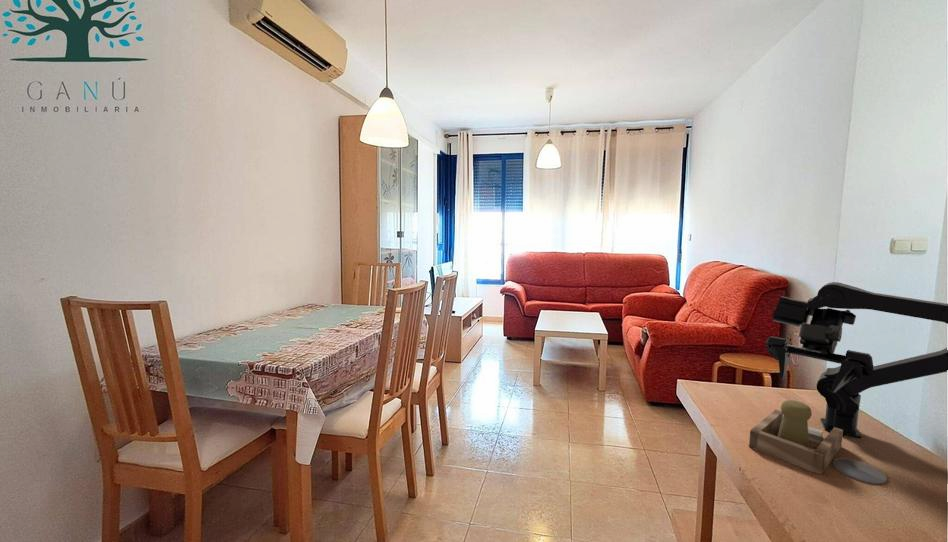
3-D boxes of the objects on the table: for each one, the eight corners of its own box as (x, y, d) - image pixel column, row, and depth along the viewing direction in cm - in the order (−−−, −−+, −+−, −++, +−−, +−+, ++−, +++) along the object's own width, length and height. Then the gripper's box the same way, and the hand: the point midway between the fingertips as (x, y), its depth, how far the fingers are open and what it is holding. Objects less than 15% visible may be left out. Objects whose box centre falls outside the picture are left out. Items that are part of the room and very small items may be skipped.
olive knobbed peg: (772, 449, 86) (776, 402, 85) (778, 439, 90) (782, 394, 89) (807, 461, 82) (812, 411, 80) (812, 450, 86) (816, 403, 84)
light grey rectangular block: (786, 431, 94) (788, 420, 94) (825, 444, 89) (826, 431, 88) (782, 437, 92) (783, 425, 91) (821, 450, 86) (822, 437, 86)
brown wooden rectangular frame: (774, 424, 97) (775, 409, 97) (841, 446, 87) (843, 429, 87) (749, 447, 87) (750, 430, 87) (821, 474, 77) (823, 456, 77)
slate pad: (829, 456, 83) (829, 454, 83) (879, 468, 79) (879, 466, 79) (837, 475, 77) (838, 472, 77) (892, 489, 73) (892, 486, 73)
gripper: (771, 304, 98) (750, 355, 92) (876, 317, 83) (859, 379, 77) (779, 330, 103) (760, 379, 98) (879, 347, 88) (864, 406, 83)
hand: (806, 385), depth 89 cm, fingers open, 9 cm apart
